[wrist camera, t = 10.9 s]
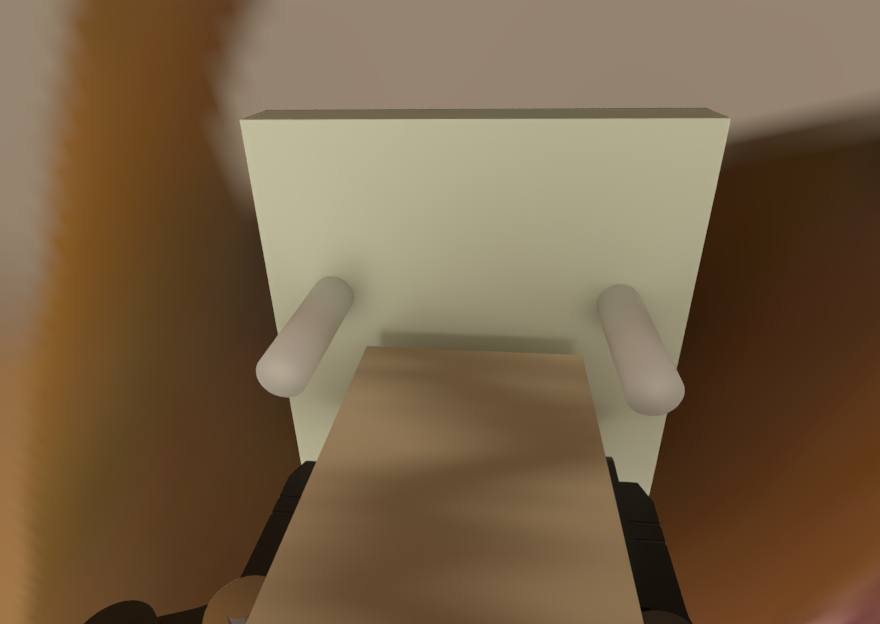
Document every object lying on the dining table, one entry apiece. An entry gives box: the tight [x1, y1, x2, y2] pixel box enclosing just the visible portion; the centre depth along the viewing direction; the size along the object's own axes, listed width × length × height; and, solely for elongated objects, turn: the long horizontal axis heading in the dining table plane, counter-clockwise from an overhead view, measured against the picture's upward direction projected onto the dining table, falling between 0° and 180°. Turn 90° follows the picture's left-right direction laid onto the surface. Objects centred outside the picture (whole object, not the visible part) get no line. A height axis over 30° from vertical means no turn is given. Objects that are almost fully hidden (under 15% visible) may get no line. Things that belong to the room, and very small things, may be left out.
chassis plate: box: [240, 108, 731, 496], centre depth 14 cm, size 10×15×5 cm, turn 1°
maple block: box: [246, 346, 644, 624], centre depth 11 cm, size 5×5×7 cm
